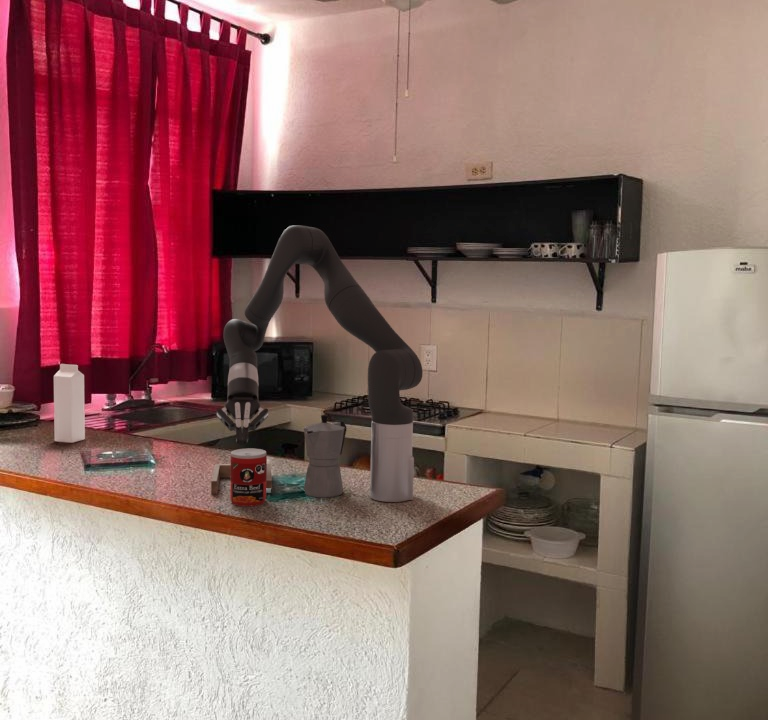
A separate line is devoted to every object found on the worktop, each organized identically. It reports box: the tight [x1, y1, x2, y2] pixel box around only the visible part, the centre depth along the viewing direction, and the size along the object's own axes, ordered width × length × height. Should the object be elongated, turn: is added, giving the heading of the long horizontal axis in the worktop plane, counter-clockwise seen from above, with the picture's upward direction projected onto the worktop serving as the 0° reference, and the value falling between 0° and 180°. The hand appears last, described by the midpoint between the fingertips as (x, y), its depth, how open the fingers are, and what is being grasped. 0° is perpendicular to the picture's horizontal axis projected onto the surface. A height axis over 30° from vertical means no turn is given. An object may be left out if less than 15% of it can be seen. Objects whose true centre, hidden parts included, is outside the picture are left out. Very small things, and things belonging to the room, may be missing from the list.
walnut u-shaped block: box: [210, 463, 273, 495], centre depth 202 cm, size 13×17×3 cm
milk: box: [53, 363, 86, 444], centre depth 249 cm, size 6×6×22 cm
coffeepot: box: [303, 413, 347, 498], centre depth 197 cm, size 15×9×18 cm, turn 150°
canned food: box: [230, 447, 268, 507], centre depth 187 cm, size 8×8×11 cm
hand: (242, 443), depth 205 cm, fingers closed
